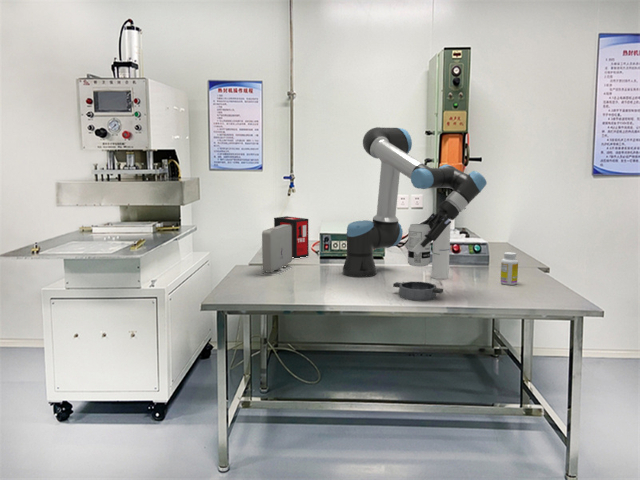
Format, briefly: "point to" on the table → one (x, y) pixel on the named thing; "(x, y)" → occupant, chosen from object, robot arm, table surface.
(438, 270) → the cylindrical container
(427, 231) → the supplement can
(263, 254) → the network device
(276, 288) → the table surface
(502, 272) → the supplement bottle
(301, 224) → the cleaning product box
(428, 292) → the cooker pot
